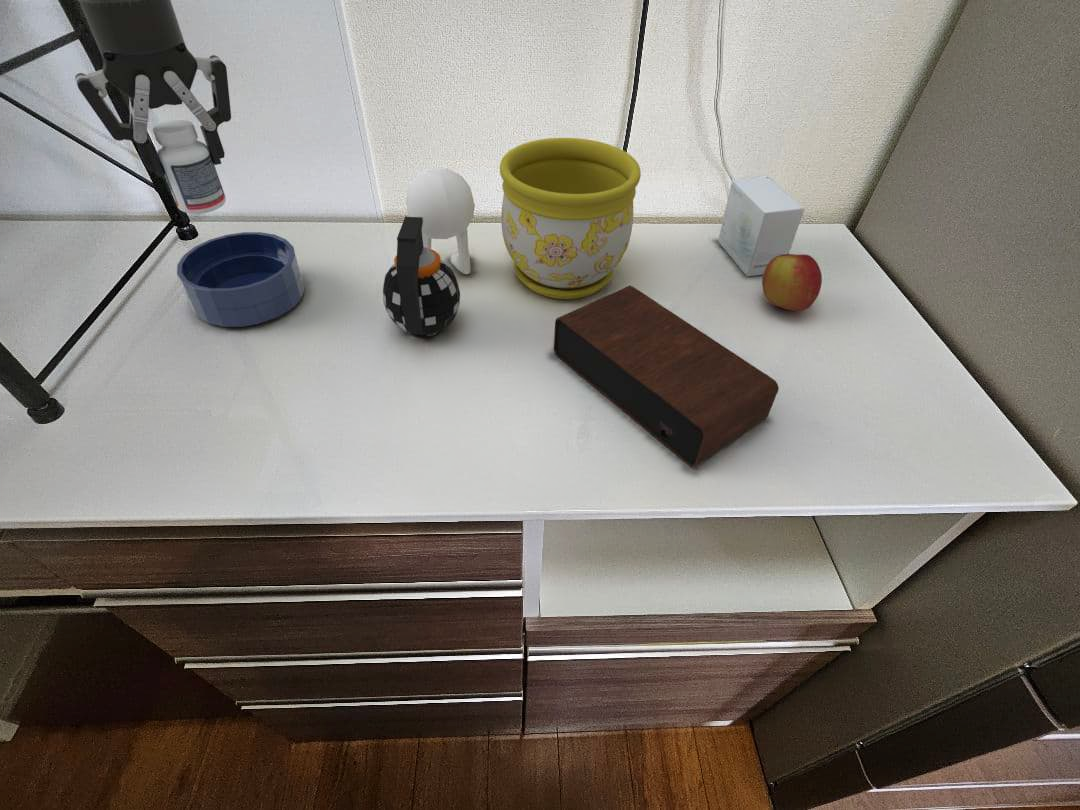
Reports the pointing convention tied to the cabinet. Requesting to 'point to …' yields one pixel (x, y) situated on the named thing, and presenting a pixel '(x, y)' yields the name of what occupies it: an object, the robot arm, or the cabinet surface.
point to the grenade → (419, 285)
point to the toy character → (443, 210)
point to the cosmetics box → (758, 223)
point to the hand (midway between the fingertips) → (188, 167)
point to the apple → (792, 281)
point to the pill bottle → (188, 168)
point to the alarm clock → (664, 373)
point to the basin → (241, 278)
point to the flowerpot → (567, 213)
